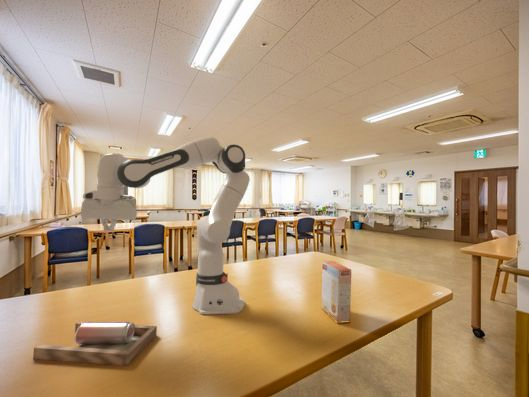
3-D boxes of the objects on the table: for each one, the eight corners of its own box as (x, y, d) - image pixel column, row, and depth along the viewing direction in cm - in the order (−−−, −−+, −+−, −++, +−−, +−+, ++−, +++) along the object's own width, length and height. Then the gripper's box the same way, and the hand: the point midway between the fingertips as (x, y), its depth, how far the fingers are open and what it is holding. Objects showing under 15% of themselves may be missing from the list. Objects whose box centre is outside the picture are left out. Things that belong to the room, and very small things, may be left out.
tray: (156, 335, 79) (156, 326, 79) (127, 365, 64) (128, 354, 64) (78, 330, 81) (79, 321, 81) (33, 358, 66) (33, 347, 66)
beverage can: (87, 318, 76) (135, 318, 77) (87, 336, 76) (134, 336, 77) (73, 329, 70) (125, 329, 71) (73, 348, 70) (125, 348, 71)
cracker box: (351, 323, 91) (352, 269, 92) (336, 324, 90) (338, 269, 90) (333, 307, 105) (334, 260, 105) (320, 308, 104) (322, 260, 104)
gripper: (141, 196, 93) (139, 231, 93) (91, 195, 95) (90, 229, 94) (131, 195, 87) (129, 233, 87) (78, 194, 88) (76, 231, 88)
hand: (108, 231), depth 90 cm, fingers closed
